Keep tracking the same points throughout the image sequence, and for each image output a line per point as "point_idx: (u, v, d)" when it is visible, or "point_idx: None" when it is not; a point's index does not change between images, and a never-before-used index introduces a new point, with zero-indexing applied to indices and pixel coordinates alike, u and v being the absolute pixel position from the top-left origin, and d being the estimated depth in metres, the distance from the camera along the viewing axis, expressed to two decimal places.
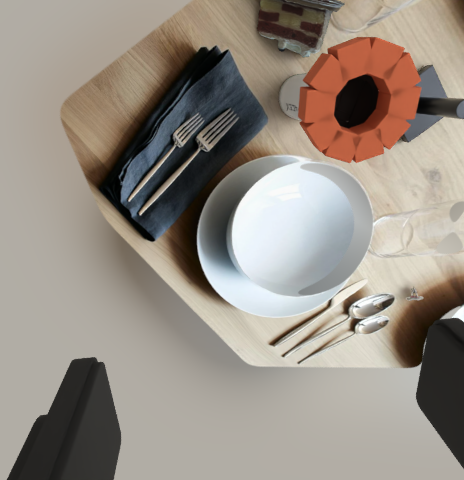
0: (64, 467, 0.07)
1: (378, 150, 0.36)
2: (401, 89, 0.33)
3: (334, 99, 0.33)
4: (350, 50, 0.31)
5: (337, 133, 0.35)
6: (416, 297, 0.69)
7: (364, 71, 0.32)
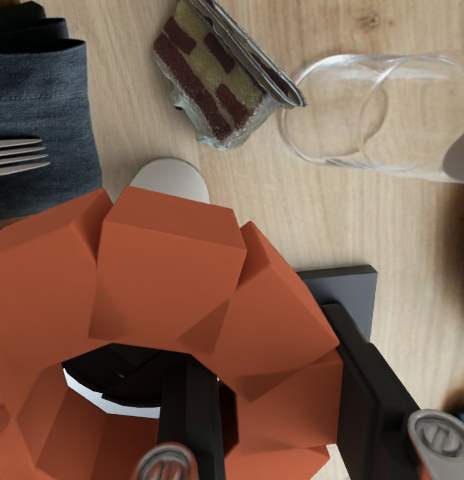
0: (217, 395, 0.08)
1: None
2: (275, 441, 0.10)
3: (33, 375, 0.08)
4: (158, 254, 0.07)
5: (12, 472, 0.09)
6: None
7: (183, 344, 0.08)
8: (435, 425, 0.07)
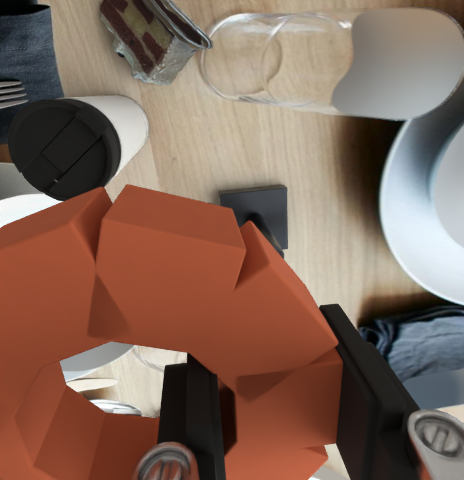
0: (218, 395, 0.08)
1: None
2: (273, 440, 0.10)
3: (31, 374, 0.08)
4: (157, 253, 0.07)
5: (9, 470, 0.09)
6: None
7: (182, 343, 0.08)
8: (435, 425, 0.07)
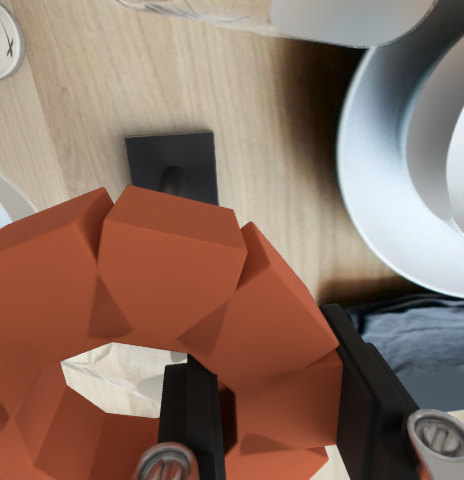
0: (218, 395, 0.08)
1: None
2: (273, 441, 0.10)
3: (32, 374, 0.08)
4: (159, 254, 0.07)
5: (10, 470, 0.09)
6: None
7: (183, 344, 0.08)
8: (435, 425, 0.07)
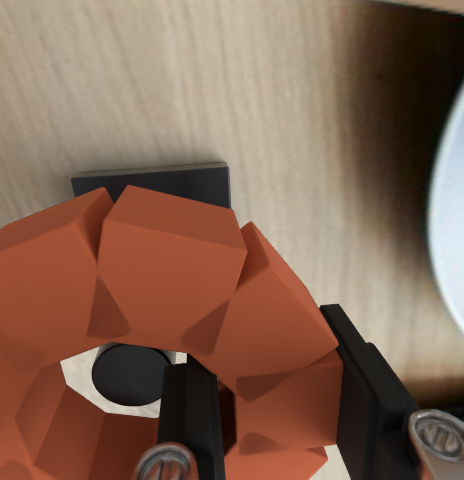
0: (217, 395, 0.08)
1: None
2: (273, 441, 0.10)
3: (32, 374, 0.08)
4: (159, 254, 0.07)
5: (10, 470, 0.09)
6: None
7: (183, 343, 0.08)
8: (435, 425, 0.07)
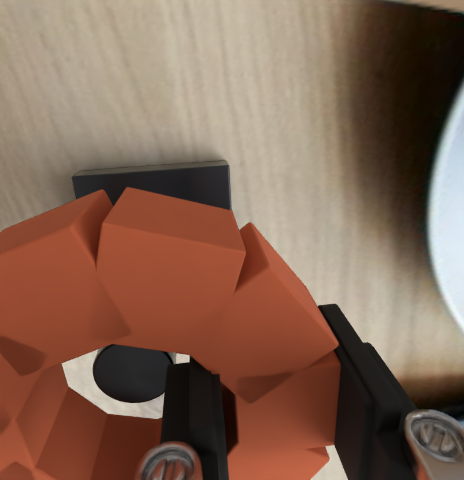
0: (220, 394, 0.08)
1: None
2: (274, 441, 0.10)
3: (33, 376, 0.08)
4: (157, 256, 0.07)
5: (12, 472, 0.09)
6: None
7: (182, 345, 0.08)
8: (431, 425, 0.07)
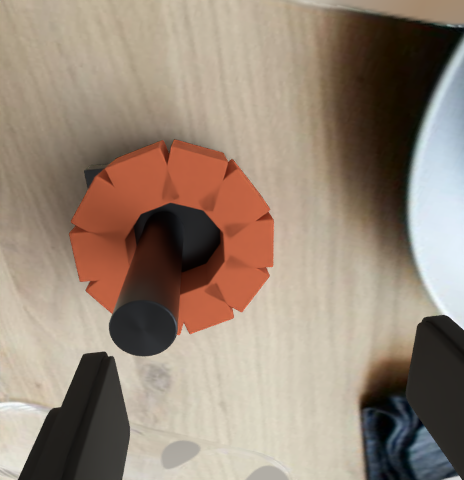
0: (79, 456, 0.07)
1: None
2: (242, 262, 0.20)
3: (136, 216, 0.19)
4: (192, 161, 0.18)
5: (119, 269, 0.20)
6: None
7: (200, 205, 0.19)
8: None
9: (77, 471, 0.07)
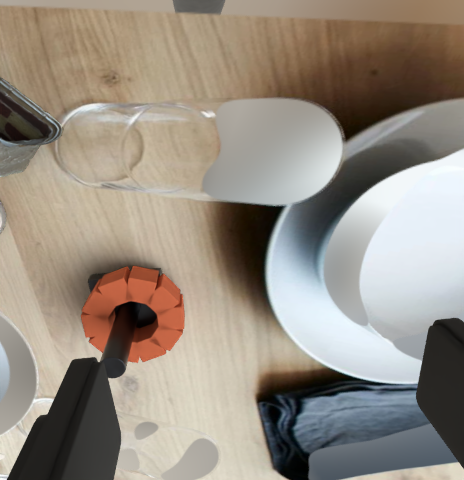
0: (64, 467, 0.07)
1: (133, 358, 0.41)
2: (167, 326, 0.40)
3: (113, 307, 0.38)
4: (139, 283, 0.38)
5: (105, 331, 0.39)
6: None
7: (144, 301, 0.38)
8: None
9: None
